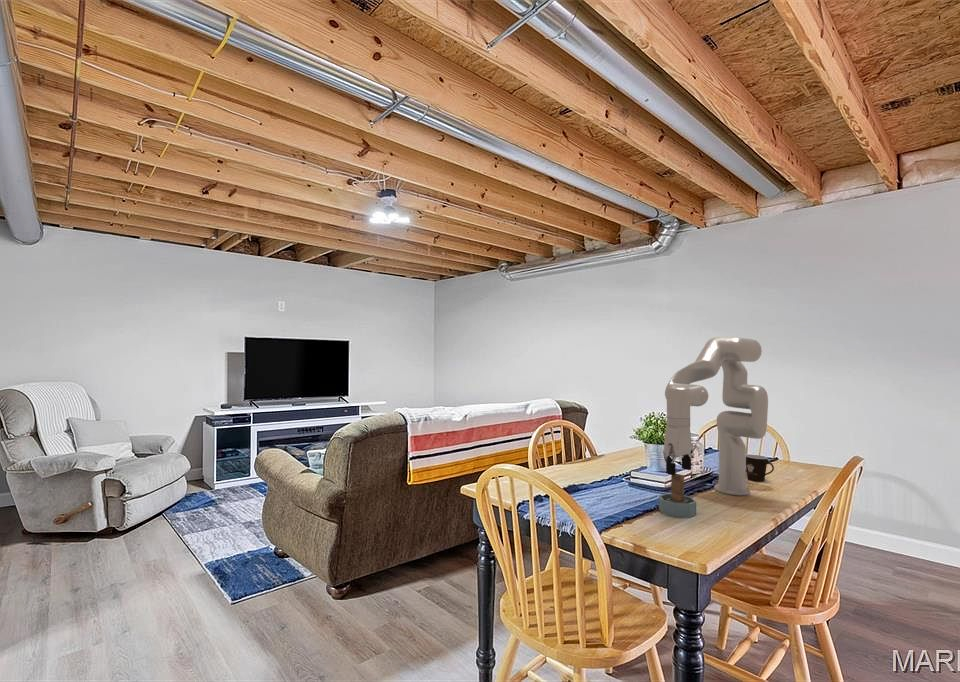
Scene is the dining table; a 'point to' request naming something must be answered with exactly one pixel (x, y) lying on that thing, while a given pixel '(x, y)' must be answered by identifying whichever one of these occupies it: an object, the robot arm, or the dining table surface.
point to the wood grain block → (677, 488)
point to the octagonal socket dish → (677, 506)
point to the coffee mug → (757, 467)
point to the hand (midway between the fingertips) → (678, 471)
